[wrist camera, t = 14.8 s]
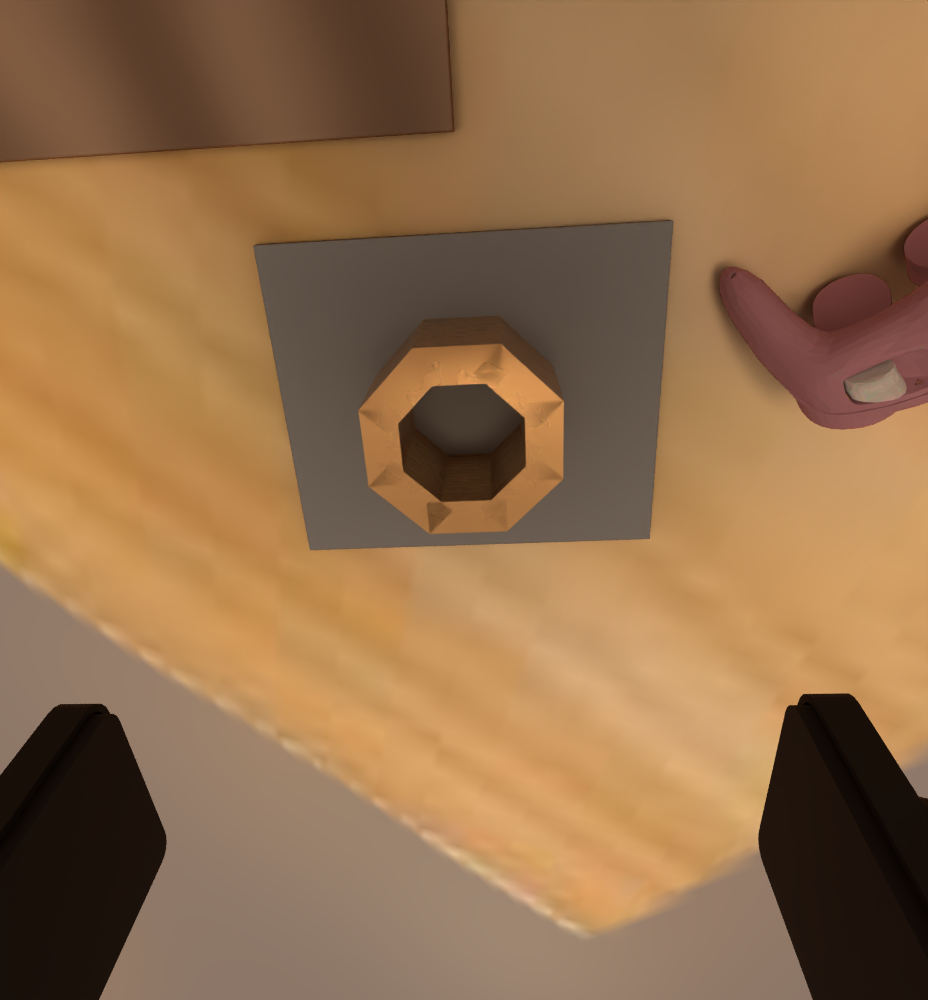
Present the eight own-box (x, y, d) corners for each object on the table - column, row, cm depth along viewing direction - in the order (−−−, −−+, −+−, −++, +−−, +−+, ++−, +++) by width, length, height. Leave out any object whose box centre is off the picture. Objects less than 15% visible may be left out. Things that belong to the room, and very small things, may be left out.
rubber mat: (670, 220, 23) (673, 221, 22) (647, 534, 28) (649, 538, 28) (256, 244, 23) (253, 245, 23) (312, 545, 29) (310, 550, 28)
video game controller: (734, 352, 26) (845, 481, 22) (697, 272, 23) (817, 404, 18) (999, 178, 23) (1191, 286, 19) (998, 59, 20) (1230, 154, 15)
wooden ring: (553, 312, 24) (564, 340, 20) (552, 478, 27) (562, 529, 23) (370, 322, 24) (350, 351, 20) (390, 485, 27) (375, 535, 23)
